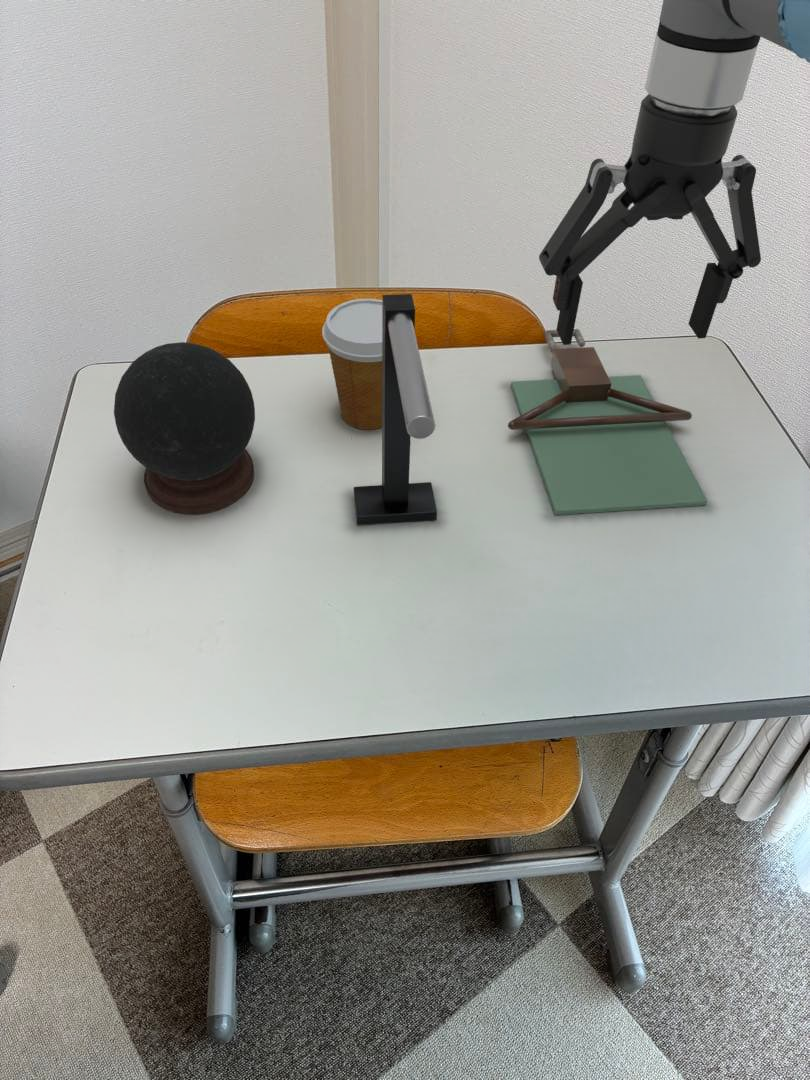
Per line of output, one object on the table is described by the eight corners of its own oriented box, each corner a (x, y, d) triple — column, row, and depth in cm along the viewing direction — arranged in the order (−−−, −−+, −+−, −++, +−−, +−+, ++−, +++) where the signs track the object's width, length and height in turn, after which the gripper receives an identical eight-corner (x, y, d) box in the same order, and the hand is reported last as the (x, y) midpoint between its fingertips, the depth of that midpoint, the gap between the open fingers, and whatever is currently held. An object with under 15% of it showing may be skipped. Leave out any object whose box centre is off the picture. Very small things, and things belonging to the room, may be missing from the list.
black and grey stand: (430, 490, 83) (443, 285, 66) (455, 617, 71) (479, 411, 54) (353, 494, 82) (347, 289, 65) (367, 624, 71) (363, 417, 54)
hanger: (690, 426, 90) (639, 336, 102) (696, 409, 88) (643, 319, 101) (507, 437, 88) (478, 343, 100) (510, 419, 86) (480, 326, 99)
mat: (510, 385, 96) (511, 381, 95) (639, 379, 97) (640, 374, 97) (554, 515, 81) (555, 511, 80) (706, 505, 82) (707, 501, 82)
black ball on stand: (131, 448, 86) (94, 326, 75) (252, 427, 89) (234, 307, 78) (140, 533, 78) (101, 409, 67) (274, 507, 80) (257, 384, 70)
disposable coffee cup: (375, 378, 96) (375, 287, 87) (427, 417, 91) (432, 324, 82) (310, 408, 92) (303, 315, 83) (361, 450, 87) (358, 357, 78)
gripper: (817, 81, 67) (736, 308, 82) (526, 86, 65) (499, 319, 80) (862, 113, 62) (767, 349, 77) (548, 119, 59) (514, 361, 75)
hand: (630, 334), depth 79 cm, fingers open, 13 cm apart
